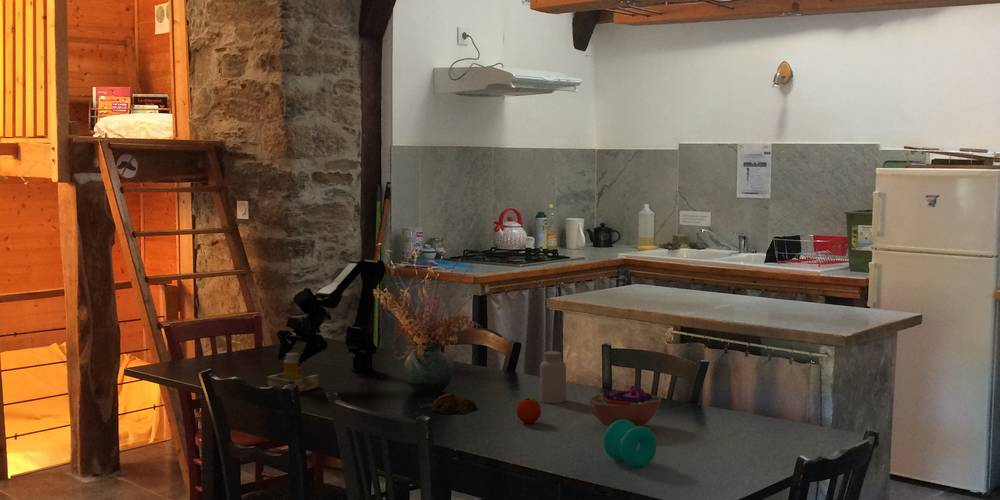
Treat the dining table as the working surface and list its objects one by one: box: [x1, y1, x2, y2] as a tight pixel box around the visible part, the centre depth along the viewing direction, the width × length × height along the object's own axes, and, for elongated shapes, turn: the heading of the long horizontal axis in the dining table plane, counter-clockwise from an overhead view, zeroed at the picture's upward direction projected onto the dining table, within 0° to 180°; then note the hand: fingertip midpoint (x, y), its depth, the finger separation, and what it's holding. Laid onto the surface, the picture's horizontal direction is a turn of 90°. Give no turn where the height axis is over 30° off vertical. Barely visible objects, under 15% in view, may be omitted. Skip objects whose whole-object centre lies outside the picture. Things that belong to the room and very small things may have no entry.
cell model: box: [589, 385, 662, 427], centre depth 282 cm, size 17×20×11 cm
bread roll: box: [430, 393, 477, 415], centre depth 304 cm, size 13×12×5 cm
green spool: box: [603, 420, 658, 469], centre depth 249 cm, size 10×10×10 cm
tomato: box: [515, 397, 544, 424], centre depth 288 cm, size 8×7×7 cm
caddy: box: [265, 372, 320, 393], centre depth 333 cm, size 12×12×4 cm
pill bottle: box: [539, 350, 567, 405], centre depth 313 cm, size 8×8×15 cm
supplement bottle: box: [283, 351, 303, 380], centre depth 332 cm, size 6×6×10 cm
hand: (289, 361), depth 331 cm, fingers open, 9 cm apart
